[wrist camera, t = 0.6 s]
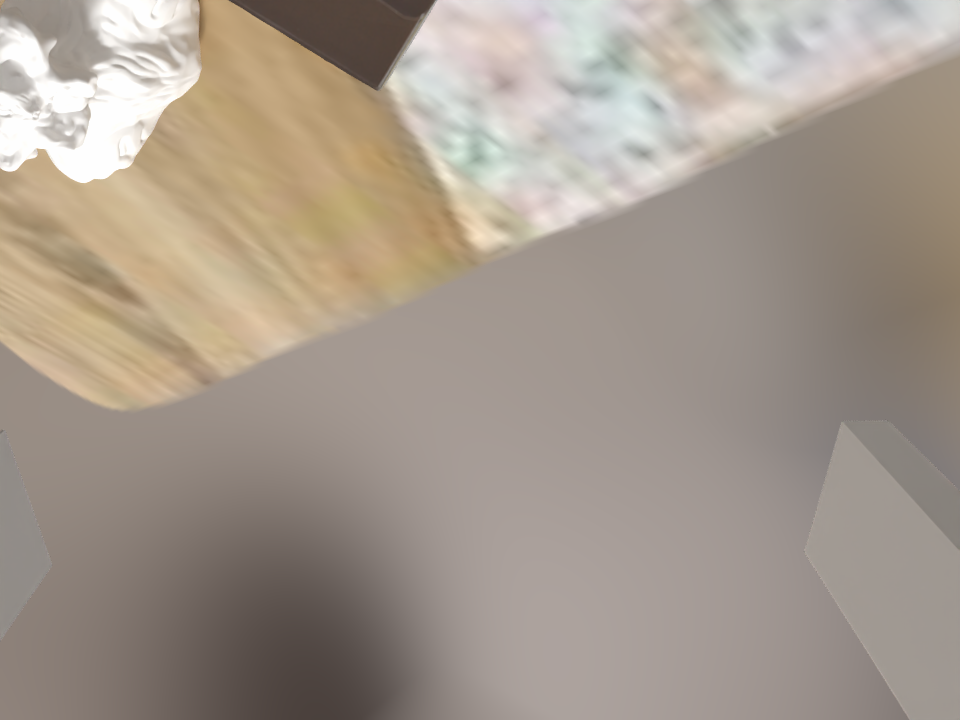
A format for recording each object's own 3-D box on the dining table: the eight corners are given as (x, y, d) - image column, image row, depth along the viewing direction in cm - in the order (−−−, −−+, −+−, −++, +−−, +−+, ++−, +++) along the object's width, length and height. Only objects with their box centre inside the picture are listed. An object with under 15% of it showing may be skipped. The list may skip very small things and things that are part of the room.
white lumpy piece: (167, -138, 29) (-166, -222, 20) (293, -26, 28) (2, -61, 19) (109, 111, 36) (-158, 131, 27) (209, 208, 35) (-34, 263, 26)
